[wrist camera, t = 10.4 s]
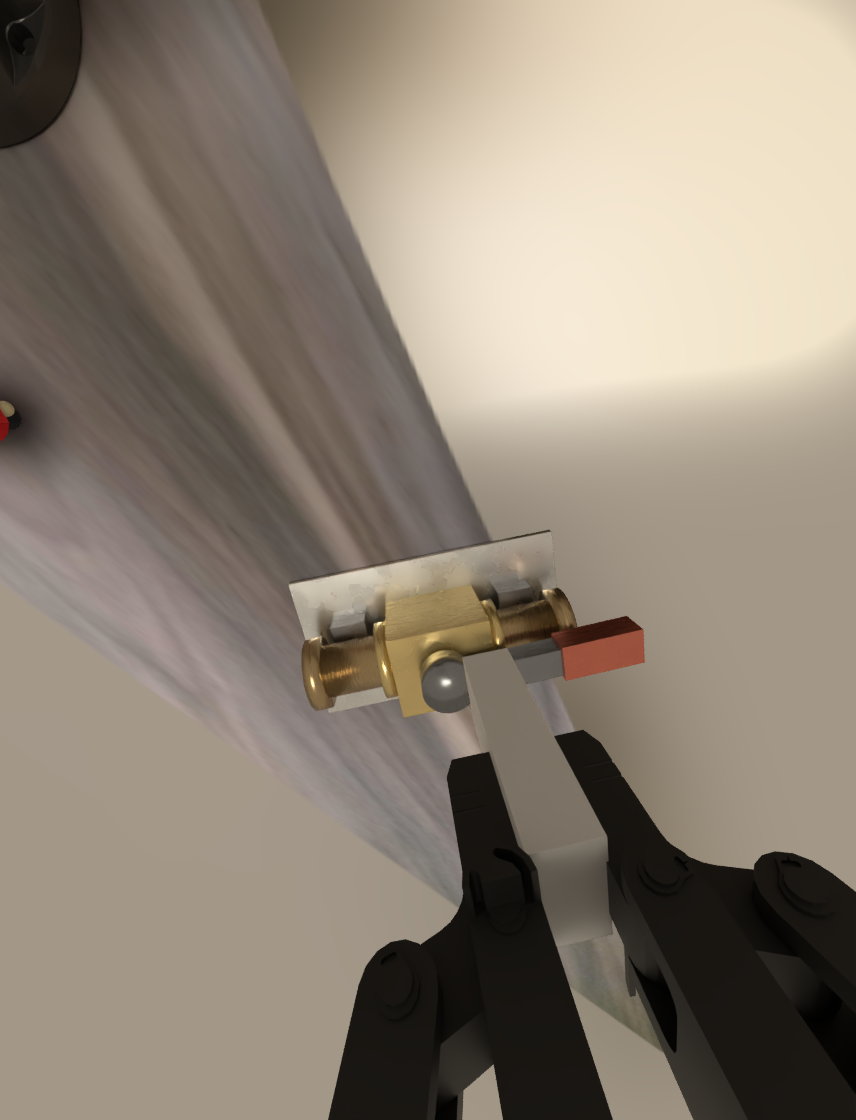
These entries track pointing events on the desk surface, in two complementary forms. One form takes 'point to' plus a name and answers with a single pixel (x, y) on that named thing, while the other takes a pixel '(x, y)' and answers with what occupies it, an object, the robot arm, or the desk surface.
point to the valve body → (423, 618)
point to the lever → (540, 660)
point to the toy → (8, 418)
